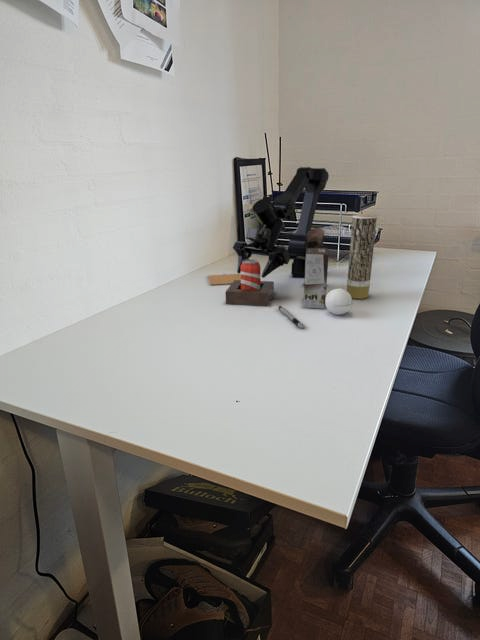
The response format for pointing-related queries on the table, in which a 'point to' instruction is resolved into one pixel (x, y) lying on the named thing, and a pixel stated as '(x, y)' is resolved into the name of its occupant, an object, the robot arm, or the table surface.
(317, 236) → the statue
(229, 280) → the cork mat
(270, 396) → the table surface
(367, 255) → the bark patterned cylinder
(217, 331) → the table surface
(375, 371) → the table surface
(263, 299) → the stand
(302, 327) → the pen
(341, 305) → the seamed sphere
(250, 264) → the beverage can
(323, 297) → the coffee box
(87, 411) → the table surface
